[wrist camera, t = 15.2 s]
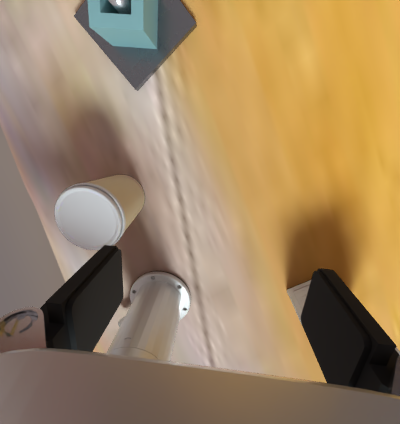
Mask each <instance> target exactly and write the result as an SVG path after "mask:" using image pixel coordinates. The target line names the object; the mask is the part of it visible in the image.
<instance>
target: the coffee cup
mask: <svg viewBox="0 0 400 424" xmlns="http://www.w3.org/2000/svg"><path fill="white" fill-rule="evenodd" d="M144 202H145V194H144V191H143V188H142V187H141V185H140V184H139V183H138V182H137V181H136V180H135V179H134V178H132V177H130V176H127V175H115V176H110V177H106V178H102V179H98V180H93V181H90V182H86V183H79V184H74V185H72V186H70V187H68V188H66V189H65V190H64V191H63V192H62V193H61V194H60V196H59V198H58V199H57V202H56V204H55V209H54V215H55V220H56V223H57V226H58V228H59V230H60V231H61V233H62V234H63V235H64V236H65V237H66V239H67V240H69V241H70V242H71V243H73V244H74V245H76V246H78V247H81V248H84V249H88V250H100V249H101V248H102V247H103V246H104V245H110V246H112V245H114V244H115V243H116V242H118V240H119V239H120V238H121V236H122V235H123V233H124V232H125V230H126V229H127V228H128V227H129V225H130V224H131V223H132V221H133V220H134V219H135V217H136V216H137V215H138V213H139V212H140V211H141V209H142V207H143V205H144Z"/></svg>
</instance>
